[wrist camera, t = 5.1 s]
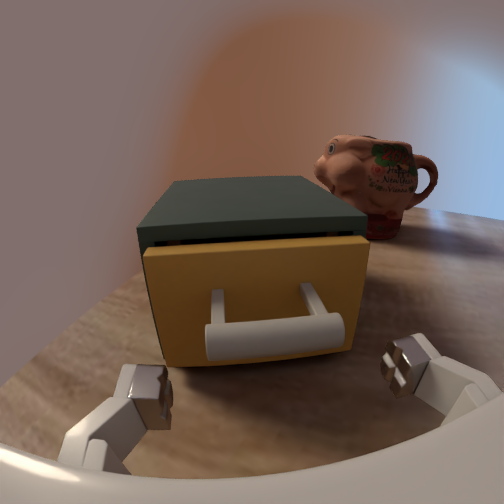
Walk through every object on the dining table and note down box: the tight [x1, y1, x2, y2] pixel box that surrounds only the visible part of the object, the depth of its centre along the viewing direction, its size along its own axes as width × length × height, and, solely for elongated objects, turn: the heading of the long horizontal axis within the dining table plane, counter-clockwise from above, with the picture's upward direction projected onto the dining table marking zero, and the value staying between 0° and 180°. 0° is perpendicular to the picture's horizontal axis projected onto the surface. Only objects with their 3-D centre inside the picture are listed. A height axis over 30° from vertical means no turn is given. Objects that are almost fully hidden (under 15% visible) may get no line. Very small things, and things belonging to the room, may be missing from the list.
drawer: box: [143, 232, 370, 367], centre depth 20 cm, size 18×12×7 cm, turn 6°
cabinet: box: [137, 176, 368, 359], centre depth 24 cm, size 15×13×9 cm
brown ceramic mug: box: [314, 135, 438, 239], centre depth 40 cm, size 20×12×14 cm, turn 91°
